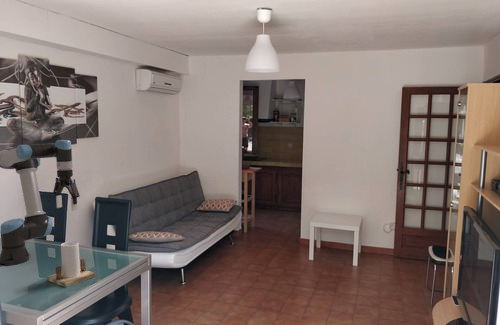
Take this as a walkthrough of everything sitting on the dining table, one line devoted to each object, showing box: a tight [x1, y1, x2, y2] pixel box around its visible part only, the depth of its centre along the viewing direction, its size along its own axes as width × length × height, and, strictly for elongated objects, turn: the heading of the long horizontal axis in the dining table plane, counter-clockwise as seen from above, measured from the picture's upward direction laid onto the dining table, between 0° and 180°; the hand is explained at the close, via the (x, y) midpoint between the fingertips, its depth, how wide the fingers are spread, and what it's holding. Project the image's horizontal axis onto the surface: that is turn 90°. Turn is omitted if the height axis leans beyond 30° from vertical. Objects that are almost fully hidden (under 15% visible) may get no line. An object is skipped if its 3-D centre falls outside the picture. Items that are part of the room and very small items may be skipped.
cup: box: [60, 241, 81, 278], centre depth 206 cm, size 8×8×16 cm
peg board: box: [47, 258, 96, 288], centre depth 206 cm, size 16×16×8 cm
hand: (66, 208), depth 218 cm, fingers open, 13 cm apart
